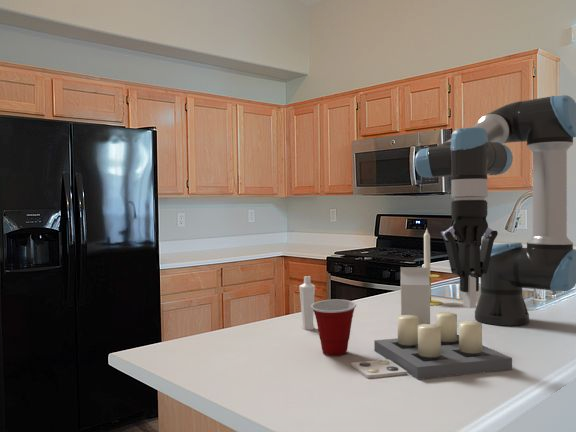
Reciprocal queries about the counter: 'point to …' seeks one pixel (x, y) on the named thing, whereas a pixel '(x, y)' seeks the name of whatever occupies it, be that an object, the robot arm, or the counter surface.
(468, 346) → the cream rounded cylinder
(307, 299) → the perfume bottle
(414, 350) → the board
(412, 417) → the counter surface
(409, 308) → the milk carton
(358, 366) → the card
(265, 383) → the counter surface
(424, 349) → the cream domed cylinder
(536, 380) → the counter surface
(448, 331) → the cream rounded cylinder
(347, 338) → the plastic cup
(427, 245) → the candle
